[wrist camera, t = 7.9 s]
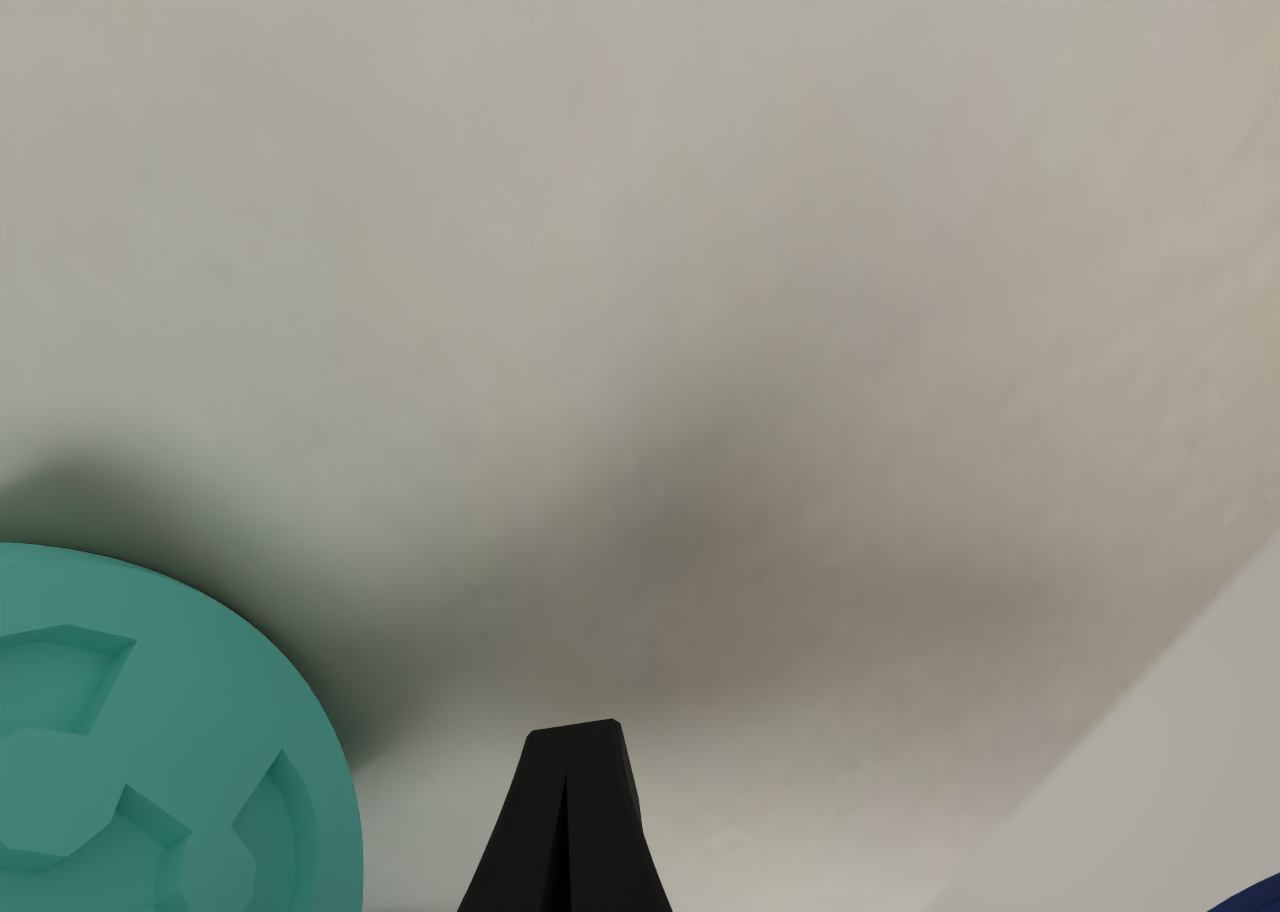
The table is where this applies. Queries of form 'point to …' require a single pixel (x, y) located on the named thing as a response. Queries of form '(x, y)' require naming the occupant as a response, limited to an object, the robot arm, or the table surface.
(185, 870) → the decorative dice
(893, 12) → the table surface
